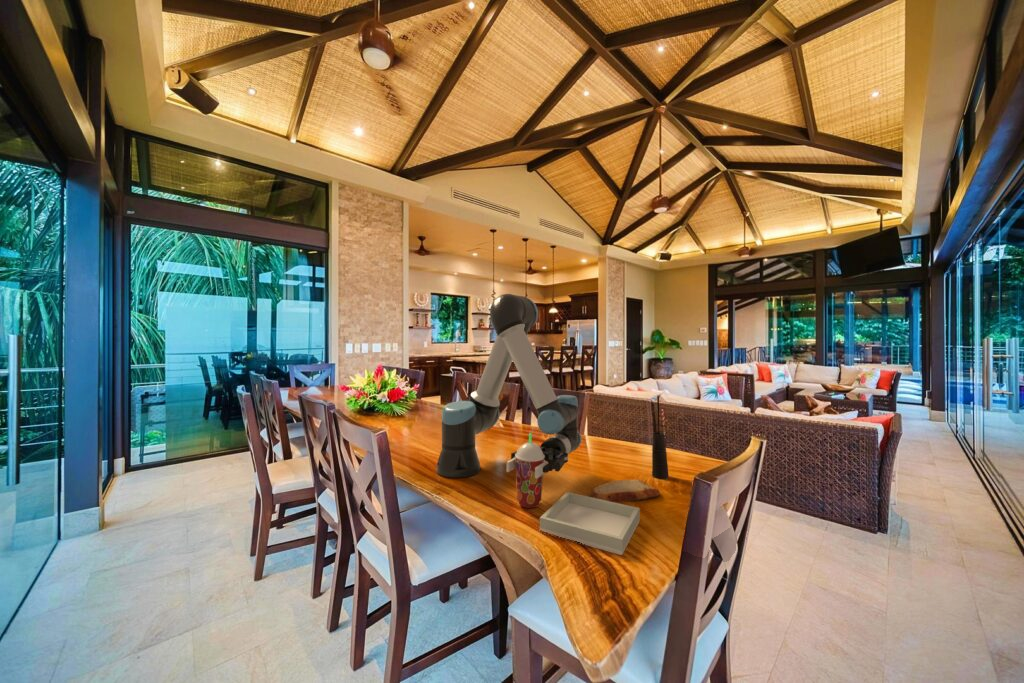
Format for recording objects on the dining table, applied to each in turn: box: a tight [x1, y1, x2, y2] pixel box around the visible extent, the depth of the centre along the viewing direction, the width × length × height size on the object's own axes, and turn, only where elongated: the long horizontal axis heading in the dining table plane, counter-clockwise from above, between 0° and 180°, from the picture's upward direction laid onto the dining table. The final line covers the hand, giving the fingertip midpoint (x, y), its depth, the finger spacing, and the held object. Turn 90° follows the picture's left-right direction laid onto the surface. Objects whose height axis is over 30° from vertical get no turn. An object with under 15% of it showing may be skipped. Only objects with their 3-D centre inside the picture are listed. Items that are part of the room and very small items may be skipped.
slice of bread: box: [590, 478, 661, 503], centre depth 119 cm, size 18×18×4 cm
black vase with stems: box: [651, 394, 669, 480], centre depth 136 cm, size 9×10×28 cm
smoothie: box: [515, 432, 545, 509], centre depth 112 cm, size 8×8×20 cm
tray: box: [539, 492, 641, 556], centre depth 100 cm, size 20×18×4 cm
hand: (521, 470), depth 108 cm, fingers closed on smoothie, 8 cm apart
